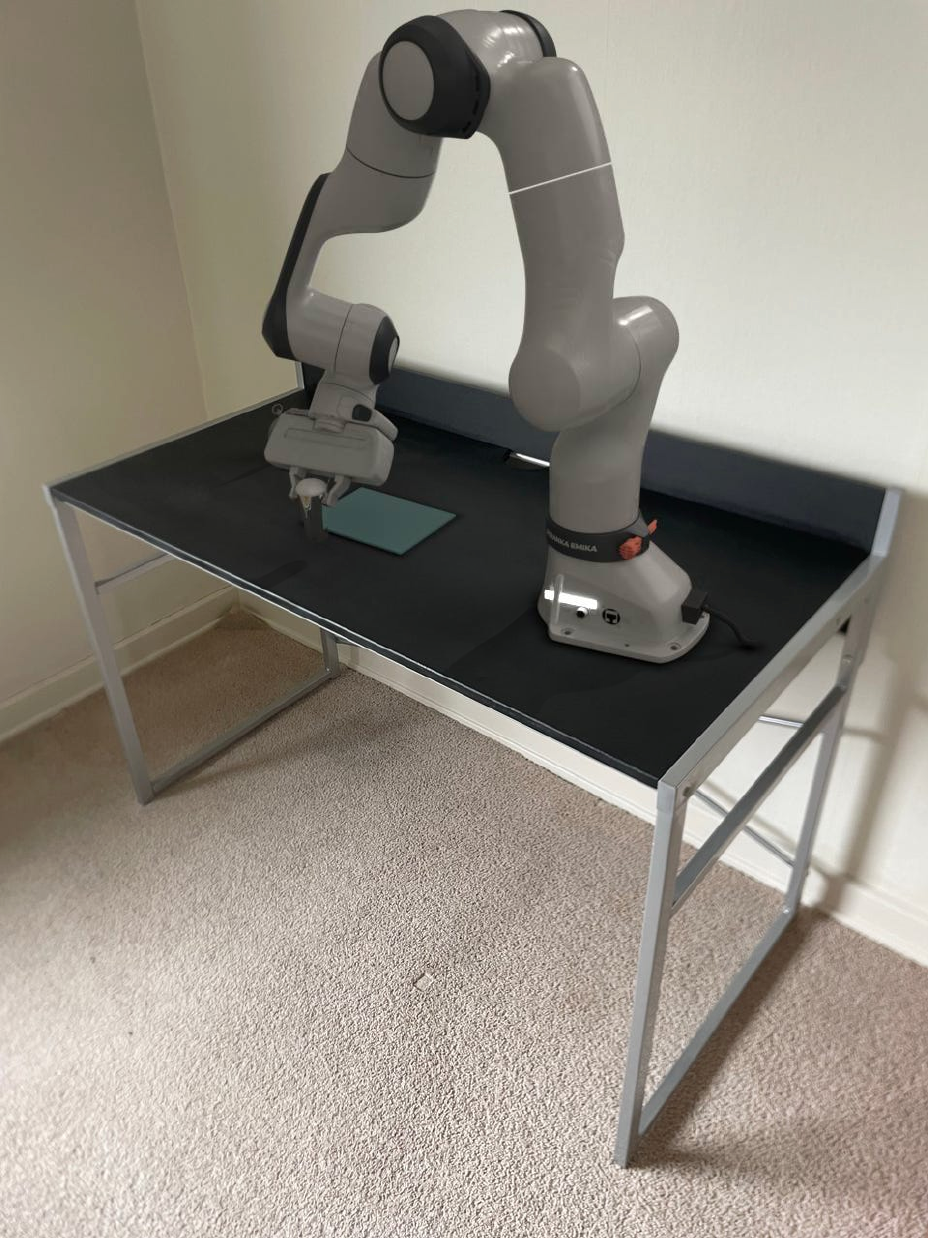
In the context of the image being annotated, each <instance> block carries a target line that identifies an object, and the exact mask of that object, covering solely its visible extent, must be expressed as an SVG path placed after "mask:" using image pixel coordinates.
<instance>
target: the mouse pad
mask: <svg viewBox="0 0 928 1238" xmlns="http://www.w3.org/2000/svg"><path fill="white" fill-rule="evenodd" d="M456 516H457V515H456V514H455V513H453V512H452V513H451V512H448V511H444V510H441V509H437V508H434V507H431V506H428V505H423V504H421V503H417V502H414V501H410V500H407V499H403V498H400V497H398V496H397V497H396V496H392V495H389V494H386V493H383V492H379V491H376V490H372V489H370V488H366V487H362V486H361V487H359V488H357V489H356V490H354V491H352V492H351V493H349V494H347V495H345V496H344V497H343V498H340V499H338V501H337V504H336V507H335V508H330V507H327V517H328V533H333V534H335V535H338V536H341V537H345V538H347V539H351V540H353V541H356V542H359V543H363V544H366V545H369V546H371V547H375V548H377V549H380V550H384V551H387V552H389V553H393V554H396V555H398V556H402V555H403V554H405V553H406V552H408V551H409V550H411V549H412V548H413V547H415V546H417V545H418V544H419V543H421V542H422V541H423V540H424V539H426V538H428V537H429V536H430V535H432V534H433V533H435V532H436V531H437V530H439V529H440V528H442V527H443V526H445V525H446V524H448V523H449V522H451V521H452V520H453V519H454V518H456Z"/></svg>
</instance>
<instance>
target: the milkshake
mask: <svg viewBox="0 0 928 1238" xmlns="http://www.w3.org/2000/svg"><path fill="white" fill-rule="evenodd" d="M330 479H331V477H328V480H327V483H326V482H325V481H323V480H322V479H319V478H317V477H308V478H305V479H301V481H300V482H299V483H298V484H297V486H296V489H295V490H296V494H297V498H298V501H297V502H298V506H299V510H300V513H301V518H302V523H303V526H304V531H305V535H306V538H307V540H309V541H310V542H322V541H325V540H326V539H327V538H329V531H328V517H327V507H326V506H324V505H322V503H321V501H322V499H323V495H324V492H328V485H329V482H330Z"/></svg>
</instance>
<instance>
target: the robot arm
mask: <svg viewBox="0 0 928 1238" xmlns="http://www.w3.org/2000/svg"><path fill="white" fill-rule="evenodd" d="M476 132H477V133H479V134H482V135H484V136H486V137H487V138H488V139H490V140H491V142H492V143H493V144H494V146H495V147H496V149H497V151H498V154H499V157H500V159H501V163H502V167H503V172H504V178H505V183H506V186H507V193H510V194H508V195H509V199H510V204H511V210H512V214H513V219H514V223H515V228H516V233H517V238H518V243H519V247H520V253H521V257H522V265H523V273H524V311H523V321H522V330H521V331H522V332H521V338H520V342H519V345H518V348H517V350H516V351H517V352H516V353H515V356H514V358H513V360H512V362H511V365H510V368H509V371H508V380H507V382H508V391H509V396H510V399H511V401H512V404H513V406H514V408H515V410H516V412H518V414H519V415H520V417H521V418H522V419H523V421H525V422H526V423H528V425H530V426H532V427H533V428H534V429H537V430H539V431H542V432H546V433H558V432H559V434H558V437H557V438H556V439H555V441H554V443H553V445H552V448H551V451H550V455H549V461H548V464H549V465H548V466H549V467H548V468H549V469H548V470H549V473H548V474H549V477H548V478H549V492H548V494H549V500H548V501H549V507H548V508H547V510H546V514H545V539H546V543H547V546H548V549H547V550H548V551H547V562H546V569H545V574H544V580H543V584H542V588H541V592H540V594H539V598H538V600H537V611H538V614H539V615H540V617H541V619H542V620H543V621H544V622H545V623H546V625H547V631H548V632H547V633H548V636H549V638H550V640H552V641H553V642H558V643H563V644H566V645H571V646H576V647H580V648H585V649H591V650H595V651H599V652H604V653H609V654H613V655H617V656H623V657H628V658H632V659H636V660H640V661H646V662H651V663H656V664H665V663H668V662H671V661H674V660H676V659H678V658H680V657H682V656H684V655H685V654H686V653H688V652H689V651H691V650H692V649H693V648H694V647H695V646H696V645H697V644H698V643H699V642H700V640H702V638H703V636H704V635H705V633H706V631H707V630H708V627H709V624H710V616H711V617H713V618H716V619H718V620H719V621H721V622H723V623H724V624H725V625H727V626H728V627H730V629H731V630H732V632H733V634H734V636H735V637H736V639H737V640H738V642H740V644H742V645H744V646H747V647H752V648H757V647H758V644H759V641H758V640H752V639H748V638H747V637H746V636H744V635H743V633H742V631H741V629H740V627H739V626H738V624H737V623H736V622H735V621H733V619H731V618H730V617H728V615H725V614H724V613H722V612H720V611H718V610H715V609H714V608H712V607H710V606H708V605H707V599H708V591H706V590H700V589H696V588H693V586H692V581H691V579H690V576H689V574H688V573H687V572H686V571H685V570H684V569H683V568H682V567H680V565H678V564H677V563H676V562H675V561H674V560H673V559H671V557H669V556H668V555H667V554H666V553H665V552H664V551H663V550H662V549H661V548H659V546H658V545H656V544H655V543H654V542H653V541H652V540H651V534H652V533H654V531H655V530H656V529H657V522H658V520H657V519H653V521H652V522H650V524H647V523H646V522H645V519H644V516H643V514H642V511H641V509H640V508H639V505H640V491H641V490H640V489H641V476H642V462H643V456H644V451H645V445H646V442H647V438H648V434H649V431H650V427H651V424H652V419H653V416H654V414H655V409H656V406H657V401H658V399H659V395H660V392H661V388H662V385H663V382H664V379H665V376H666V374H667V372H668V370H669V368H670V366H671V364H672V363H673V361H674V359H675V357H676V355H677V353H678V349H679V345H680V330H679V326H678V322H677V320H676V317H675V316H674V313H673V312H672V311H671V309H670V308H669V307H668V306H667V305H666V304H665V303H664V302H662V301H661V300H659V299H658V298H655V297H653V296H650V295H641V294H640V295H626V296H619V297H614V291H615V280H616V274H617V268H618V264H619V261H620V259H621V256H622V254H623V253H624V252H623V251H624V249H625V242H626V241H625V240H626V234H625V229H624V223H623V217H622V212H621V206H620V202H619V195H618V190H617V186H616V179H615V174H614V169H613V168H614V167H613V164H612V159H611V158H612V157H611V153H610V149H609V143H608V140H607V135H606V132H605V128H604V124H603V121H602V117H601V114H600V111H599V108H598V104H597V102H596V99H595V96H594V93H593V91H592V88H591V85H590V83H589V80H588V78H587V76H586V74H585V72H584V70H583V69H582V67H580V66H579V65H578V64H577V63H576V62H574V61H573V60H571V59H568V58H564V57H560V56H558V55H557V49H556V46H555V43H554V41H553V38H552V36H551V33H550V32H549V31H548V29H547V28H546V26H545V25H544V24H543V23H542V22H541V21H539V19H537V18H535V17H534V16H532V15H530V14H528V13H525V12H522V11H519V10H514V9H501V10H499V11H497V10H477V9H473V8H465V9H457V10H451V11H447V12H446V11H445V12H442V13H439V14H435V15H432V14H424V15H420V16H418V17H415V18H412V19H410V20H408V21H407V22H404V23H403V24H401V25H399V26H398V27H397V28H396V29H394V31H392V32H391V34H389V36H388V37H387V39H386V40H385V42H384V44H383V46H382V48H381V50H380V51H378V52H376V54H374V55H373V56H372V57H371V58H370V60H369V62H368V63H367V65H366V67H365V71H364V73H363V76H362V79H361V81H360V84H359V87H358V90H357V94H356V97H355V100H354V104H353V108H352V112H351V116H350V120H349V125H348V130H347V135H346V140H345V141H346V142H345V147H344V150H343V154H342V156H341V158H340V161H339V162H338V164H337V165H336V167H335V168H334V169H333V170H332V171H330V172H325V173H320V174H319V175H318V177H317V178H316V179H315V181H314V182H313V183H312V186H311V187H310V189H309V190H308V192H307V194H306V197H305V199H304V202H303V204H302V207H301V210H300V213H299V215H298V219H297V220H296V224H295V227H294V230H293V233H292V235H291V237H290V238H291V240H290V242H289V244H288V248H287V251H286V254H285V258H284V260H283V263H282V266H281V270H280V271H279V276H278V279H277V282H276V284H275V287H274V291H273V292H272V294H271V296H270V298H269V299H268V302H267V303H266V305H265V309H264V311H263V314H262V319H261V336H262V338H263V339H264V342H265V343H266V345H267V346H268V348H269V350H270V351H271V353H272V354H274V356H275V357H277V358H280V359H284V360H289V361H294V362H298V363H304V364H307V365H311V366H313V367H317V368H319V369H323V370H324V373H323V375H322V377H321V379H320V380H319V381H318V384H317V387H316V388H315V392H314V395H313V398H312V401H311V405H310V406H309V407H310V408H309V409H299V408H296V407H291V408H289V409H288V410H286V411H284V412H282V413H281V414H280V417H279V420H278V423H277V424H276V426H275V428H274V430H273V432H272V434H271V436H270V438H269V440H268V439H267V443H266V445H265V447H264V451H263V456H264V459H265V461H266V462H267V463H269V464H270V465H272V466H273V467H275V468H277V469H283V470H287V471H289V473H288V474H289V480H290V485H291V488H290V490H289V494H288V497H289V499H291V500H292V501H296V502H298V498H297V494H296V490H295V489H296V486H297V484H298V483H299V482H300V481H301V480H303V479H306V476H307V474H308V475H309V474H310V475H315V476H320V477H327V478H330V479H331V478H332V479H334V480H333V481H334V483H335V484H334V485H333V486H332V488H331V489H330V490H329V491H327V492H324V495H323V499H322V501H321V503H322V505H324V506H326V507H330V508H335V507H336V504H337V501H339V498H341V497H342V496H343V495H344V494H345V493H346V492H347V491H348V490H349V488H350V486H351V483H352V482H353V483H360V484H365V485H369V486H375V487H381V486H382V485H383V484H384V483H386V481H387V480H388V477H389V475H390V472H391V467H392V463H393V459H394V454H395V447H394V446H395V445H394V443H393V441H395V440H396V438H397V436H398V433H399V432H398V428H397V427H396V426H395V424H393V423H392V422H391V420H389V419H388V418H387V417H386V416H384V415H383V414H382V413H381V412H380V411H378V410H377V409H375V407H376V403H377V402H376V401H377V398H376V397H377V392H378V389H379V387H380V385H381V384H382V383H384V382H386V381H387V380H388V379H389V378H391V373H392V370H393V366H394V363H395V362H396V361H395V360H396V358H397V355H398V353H399V349H400V345H401V339H400V335H399V333H398V331H397V329H396V326H395V322H394V321H393V318H392V317H391V316H390V315H389V314H388V313H387V312H386V311H384V310H383V309H382V308H380V307H378V306H375V305H373V304H370V303H362V302H361V303H352V302H350V301H346V300H344V299H340V298H337V297H334V296H332V295H328V294H325V293H322V292H320V291H319V290H317V289H316V288H315V287H314V286H313V285H312V280H313V277H314V274H315V271H316V270H317V266H318V264H319V261H320V258H321V255H322V253H323V250H324V247H325V243H326V242H327V241H328V240H330V239H333V238H335V237H339V236H344V235H355V234H380V233H381V234H382V233H387V232H391V231H394V230H397V229H400V228H402V227H404V226H407V225H409V224H410V223H412V222H413V221H414V220H416V218H417V217H419V216H420V214H421V213H423V211H424V210H425V208H426V206H427V203H428V200H429V198H430V195H431V192H432V190H433V187H434V183H435V180H436V176H437V172H438V167H439V162H440V158H441V153H442V148H443V144H444V141H445V139H455V140H456V139H458V140H469V139H471V138H473V136H474V135H475V133H476ZM512 192H513V193H512Z"/></svg>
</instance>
